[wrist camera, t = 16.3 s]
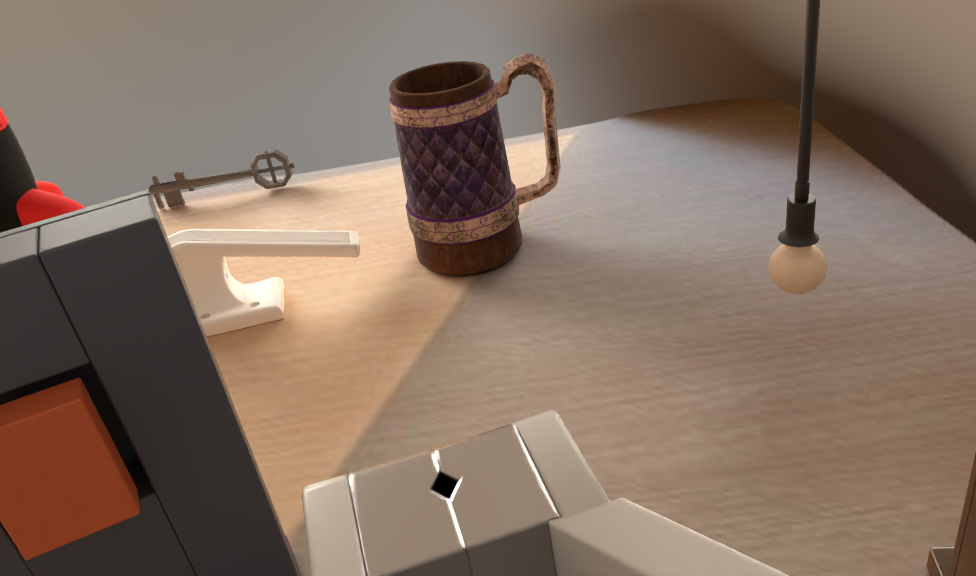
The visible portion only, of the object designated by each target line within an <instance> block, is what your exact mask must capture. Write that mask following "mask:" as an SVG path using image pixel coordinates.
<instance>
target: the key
mask: <svg viewBox="0 0 976 576" xmlns="http://www.w3.org/2000/svg"><path fill="white" fill-rule="evenodd" d="M273 157H274V158H276V159H277V160H279V161H281V162H282V163H283V165H284V166H278V167H272V163H271V160H270V158H273ZM260 159H266V160H267V163H268V166H269V168H266V169H260V170H258V167H257V163H258V161H259V160H260ZM250 167H251V170H245V171H238V172H232V173H225V174H218V175H211V176H204V177H197V178H191V179H186V178H185V175H184V172H176V173H174V176H175V178H176V181H173V182H167V183H162V184H160V183H159V180H158V177H157V176H153V177H152V179H153V182H154V185H151V187H149V192H150V193H151V194H154V196H155V199H156V202H157V204H158V207H159V209H162V208H164V205H163V202H162V201H161V198H160V195H159V193H164V196H165V198H166V201H167V204H168V206H169V207H174V206H180V205H184V204H185V202H184V199H183V197H182V195H181V191H180V190H181V189H188V188H189V191H194V187H199V186H204V185H209V184H214V183H219V182H224V181H229V180H235V179H240V178H244V177H250V176H254V179H255V182H256V183H257V184H259V185H261V186H262V187H264V188H266V189H271V188H277V187H283V186H285V185H286V184H287V182H288V181H289V179H290V178H291V176H292V171H291V169H292V168H294V167H295V166H294V164H293V163H291V164H290V163H289V160H288V157H287V156H286V155H284V154H283V153H281V152H279V151H278V150H276V149H275V150H270V151H264V152H258V153H257V155H256V157H255V158H254V160H253V161H252V163H251V165H250ZM282 169H285V171H286V175H285V177H284V178H283V179H279V180H276V176H275V173H274V171H276V170H282ZM265 172H271V176H272V179H273V181H268V180H266V179H265V178H263V177H261V176H260V173H265Z"/></svg>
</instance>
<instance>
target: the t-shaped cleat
mask: <svg viewBox="0 0 976 576" xmlns="http://www.w3.org/2000/svg"><path fill="white" fill-rule="evenodd" d="M167 238H168V240H169V243H170V245H171V248H172V250H173V253H174V255H175V258H176V260H177V263H178V265H179V268H180V271H181V273H182V276H183V278H184V281H185V283H186V286H187V288H188V291H189V293H190V296H191V298H192V301H193V303H194V306H195V309H196V311H197V314H198V316H199V319H200V321H201V324H202V326H203V329H204V331H205V334H206V336H207V337H208V336H212V335H216V334H220V333H225V332H229V331H233V330H237V329H242V328H246V327H250V326H255V325H259V324H263V323H267V322H272V321H276V320H280V319H284V284H283V281H282V279H281V278H278V277H275V278H270V279H266V280H263V281H260V282H257V283H253V284H242V283H240V282H238V281H236V280H235V279H234V278H233V277H232V276H231V274H230V272H229V270H228V267H227V263H226V257H358V256H359V255H360V245H359V239H358V233H357V232H356V231H325V230H249V229H188V230H183V231H179V232H177V233H175V234H173V235H171V236H169V237H167Z"/></svg>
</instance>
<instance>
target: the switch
mask: <svg viewBox="0 0 976 576" xmlns="http://www.w3.org/2000/svg"><path fill="white" fill-rule="evenodd" d="M139 514H140V505H139V498H138V491H137V488H136V486H135V484H134V482H133V480H132V478H131V476H130V474H129V472H128V470H127V468H126V466H125V464H124V462H123V460H122V458H121V456H120V454H119V452H118V450H117V448H116V446H115V444H114V442H113V440H112V438H111V436H110V434H109V432H108V431H107V429H106V427H105V425H104V423H103V421H102V419H101V417H100V415H99V413H98V411H97V409H96V407H95V405H94V403H93V401H92V399H91V397H90V395H89V393H88V391H87V389H86V387H85V385H84V383H83V381H82V379H81V378H76V379H73V380H70V381H67V382H65V383H62V384H59V385H56V386H53V387H50V388H48V389H45V390H42V391H39V392H36V393H33V394H31V395H28V396H25V397H22V398H19V399H16V400H14V401H11V402H8V403H5V404H2V405H0V521H1V523H2V524H3V526H4V528H5V529H6V531H7V532H8V534H9V535H10V537H11V538H12V540H13V541H14V543H15V545H16V546H17V548H18V549H19V551H20V552H21V554H22V555H23V557H24V558H25V560H29V559H32V558H34V557H36V556H39V555H41V554H44V553H46V552H49V551H51V550H54V549H56V548H58V547H61V546H63V545H66V544H68V543H71V542H73V541H75V540H78V539H80V538H83V537H85V536H88V535H90V534H93V533H95V532H97V531H100V530H102V529H105V528H107V527H110V526H112V525H114V524H117V523H119V522H122V521H124V520H127V519H129V518H132V517H134V516H136V515H139Z"/></svg>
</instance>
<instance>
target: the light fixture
mask: <svg viewBox="0 0 976 576" xmlns="http://www.w3.org/2000/svg"><path fill="white" fill-rule="evenodd" d="M819 8H820V0H807V2H806V20H805V40H804V57H803V75H802V93H801V111H800V129H799V147H798V165H797V181H796V182H795V194H793V195H791V196H789V197H788V199H787V216H786V229H785V231H783V232H781V233H780V234H779V236H778V240H779V241H780V242H781V243H783V245H781V246H780V247H778V248H777V249H776V250H775V251H774V253H773V254H772V256H771V258H770V261H769V274H770V277H771V279H772V281H773V283H774V284H775V285H776V286H777V287H778V288H780V289H781V290H783V291H785V292H788V293H793V294H803V293H807V292H810V291H812V290H814V289H816V288H817V287H818V286H819V285H820V284H821V283H822V282H823V280H824V278H825V276H826V272H827V262H826V258H825V256H824V254H823V253H822V251H821V250H820V249H819V248H818V247H816V246H815V245H814V244H815V243H817V242H818V240H819V236H818V235H817V234H816V233H815V232H814V219H815V205H816V199H815V197H814V196H812V195H810V194H809V185H810V182H809V167H810V151H811V135H812V120H813V104H814V87H815V72H816V55H817V41H818V25H819Z"/></svg>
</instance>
